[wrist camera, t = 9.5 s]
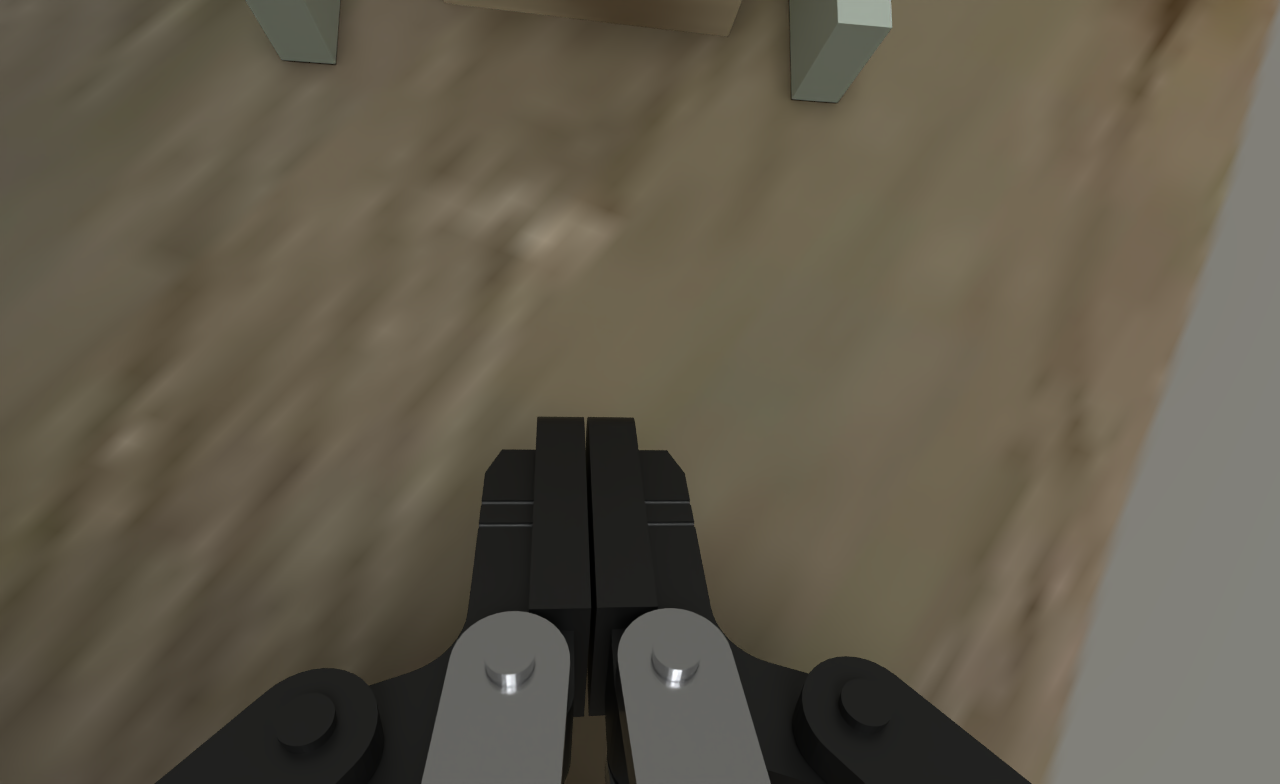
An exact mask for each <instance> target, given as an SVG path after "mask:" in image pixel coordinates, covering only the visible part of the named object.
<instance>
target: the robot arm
mask: <svg viewBox="0 0 1280 784" xmlns="http://www.w3.org/2000/svg"><path fill="white" fill-rule="evenodd" d="M587 675H588V708H589V716H600V715H605V719H606V739H607V755H606V764H605V781H606V784H1031V783H1030V782H1029V781H1028V780H1026V779H1025V778H1024V777H1023V776H1021V775H1020V774H1019V773H1018V772H1016V771H1015V770H1014V769H1013V768H1011V767H1010V766H1009V765H1007V764H1006V763H1005V762H1004V761H1002V760H1001V759H1000V758H999V757H997V756H996V755H995V754H994V753H992V752H991V751H990V750H989V749H987V748H986V747H985V746H984V745H982V744H981V743H980V742H979V741H977V740H976V739H975V738H974V737H972V736H971V735H970V734H969V733H967V732H966V731H965V730H963V729H962V728H961V727H960V726H958V725H957V724H956V723H955V722H953V721H952V720H951V719H950V718H948V717H947V716H946V715H945V714H943V713H942V712H941V711H940V710H938V709H937V708H936V707H935V706H933V705H932V704H931V703H930V702H928V701H927V700H926V699H924V698H923V697H922V696H921V695H919V694H918V693H917V692H916V691H914V690H913V689H912V688H911V687H909V686H908V685H907V684H906V683H904V682H903V681H902V680H901V679H899V678H898V677H897V676H896V675H894V674H893V673H891V672H890V671H889V670H887V669H886V668H884V667H882V666H880V665H878V664H876V663H874V662H871V661H868V660H866V659H861V658H857V657H847V656H845V657H835V658H832V659H828V660H826V661H824V662H822V663H820V664H819V665H817V666H816V667H815V668H813V670H812V671H811V672H810V673H809V674H808V673H804V672H801V671H797V670H794V669H790V668H787V667H783V666H779V665H776V664H772V663H769V662H766V661H763V660H760V659H757V658H755V657H753V656H751V655H749V654H747V653H746V652H744V651H743V650H741V649H740V648H738V647H737V646H736V645H735V644H733V643H732V642H731V641H730V640H729V639H728V638H727V637H726V636H725V634H724V633H723V632H722V631H721V629H720V628H719V626H718V625H717V623H716V621H715V618H714V616H713V613H712V610H711V606H710V601H709V596H708V591H707V585H706V580H705V575H704V570H703V565H702V560H701V555H700V550H699V544H698V539H697V534H696V529H695V527H694V519H693V514H692V509H691V505H690V498H689V493H688V488H687V483H686V478H685V473H684V472H683V471H682V469H681V468H680V467H679V465H678V464H677V463H676V462H675V460H674V459H673V458H672V456H671V455H670V454H669V453H668V451H667V450H638V443H637V435H636V427H635V421H634V418H620V417H588V418H587V429H586V448H585V428H584V417H537V437H536V450H501V452H500V453H499V455H498V456H497V457H496V459H495V460H494V462H493V463H492V464H491V466H490V467H489V468H488V470H487V471H486V473H485V479H484V487H483V495H482V506H481V511H480V519H479V528H478V535H477V543H476V551H475V559H474V567H473V575H472V583H471V591H470V599H469V608H468V614H467V619H466V622H465V625H464V627H463V630H462V631H461V633H460V635H459V636H458V638H457V640H456V641H455V642H454V643H453V644H452V646H451V647H450V648H449V649H448V650H447V651H446V652H445V653H443V654H442V655H441V656H440V657H438V658H437V659H436V660H434V661H433V662H431V663H429V664H428V665H426V666H424V667H422V668H420V669H417V670H415V671H412V672H410V673H407V674H404V675H401V676H398V677H395V678H392V679H389V680H386V681H382V682H379V683H376V684H373V685H370V686H368V685H367V684H366V683H365V682H364V681H363V680H362V679H361V678H359V677H358V676H356V675H355V674H353V673H350V672H347V671H345V670H340V669H334V668H321V669H314V670H309V671H305V672H301V673H298V674H296V675H293V676H291V677H289V678H287V679H285V680H283V681H281V682H279V683H278V684H276V685H275V686H273V687H272V688H271V689H269V690H268V691H267V692H265V693H264V694H263V695H262V696H260V697H259V698H258V699H257V700H256V701H254V702H253V703H252V704H251V705H250V706H248V707H247V708H246V709H245V710H243V711H242V712H241V713H240V714H239V715H237V716H236V717H235V718H234V719H233V720H231V721H230V722H229V723H228V724H226V725H225V726H224V727H223V728H222V729H220V730H219V731H218V732H217V733H216V734H214V735H213V736H212V737H211V738H210V739H208V740H207V741H206V742H205V743H203V744H202V745H201V746H200V747H199V748H197V749H196V750H195V751H194V752H193V753H191V754H190V755H189V756H188V757H187V758H185V759H184V760H183V761H182V762H180V763H179V764H178V765H177V766H176V767H174V768H173V769H172V770H171V771H170V772H168V773H167V774H166V775H165V776H163V777H162V778H161V779H160V780H159V781H157V782H156V783H155V784H565V779H566V777H567V774H568V771H569V767H570V761H571V745H572V727H573V717H582V716H584V706H585V691H586V677H587Z"/></svg>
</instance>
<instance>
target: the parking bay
mask: <svg viewBox="0 0 1280 784" xmlns="http://www.w3.org/2000/svg"><path fill="white" fill-rule="evenodd" d="M245 1H246V2H247V4H248V6H249V7H250V9H251V11H252V12H253V14H254V16H255V17H256V19H257V20H258V22H259V24H260V25H261V27H262V29H263V30H264V32H265V34H266V35H267V37H268V39H269V40H270V42H271V43H272V45H273V47H274V48H275V50H276V52H277V53H278V55H279V57H280V58H281V60H289V61H302V62H315V63H328V64H336V52H337V39H338V25H339V12H340V0H245ZM789 7H790V50H791V93H792V99H796V100H809V101H822V102H835V103H838V101H839V100H840V99H841V97H842V96H843V94H844V93H845V92H846V90H847V89H848V88H849V86H850V85H851V83H852V82H853V81H854V79H855V78H856V77H857V75H858V74H859V72H860V71H861V70H862V68H863V67H864V66H865V64H866V63H867V62H868V60H869V59H870V57H871V56H872V55H873V53H874V52H875V51H876V49H877V48H878V46H879V45H880V44H881V42H882V41H883V40H884V38H885V37H886V35H887V34H888V33H889V31H890V30H891V29H892V14H891V0H789Z"/></svg>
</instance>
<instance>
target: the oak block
mask: <svg viewBox="0 0 1280 784" xmlns="http://www.w3.org/2000/svg"><path fill="white" fill-rule="evenodd" d="M444 2H445V3H447V4H455V5H463V6H472V7H480V8H489V9H497V10H506V11H514V12H522V13H531V14H539V15H548V16H556V17H564V18H573V19H581V20H590V21H598V22H607V23H615V24H623V25H632V26H640V27H649V28H657V29H666V30H674V31H682V32H691V33H699V34H708V35H716V36H724V37H728V36H729V33H730V30H731V28H732V25H733V23H734V20H735V18H736V15H737V12H738V10H739V7H740V5H741V2H742V0H444Z"/></svg>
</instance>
